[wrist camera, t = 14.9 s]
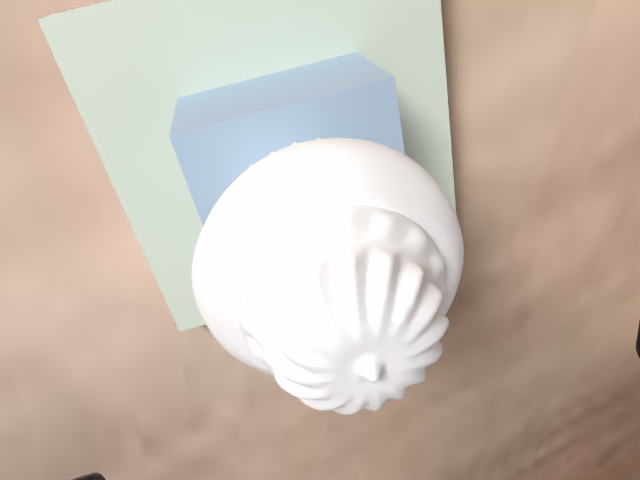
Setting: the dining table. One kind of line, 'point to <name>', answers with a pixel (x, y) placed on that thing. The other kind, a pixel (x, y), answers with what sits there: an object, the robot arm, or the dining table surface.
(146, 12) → the pale green square slab
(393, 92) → the brick
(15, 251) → the dining table surface
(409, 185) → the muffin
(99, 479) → the robot arm
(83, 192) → the dining table surface
